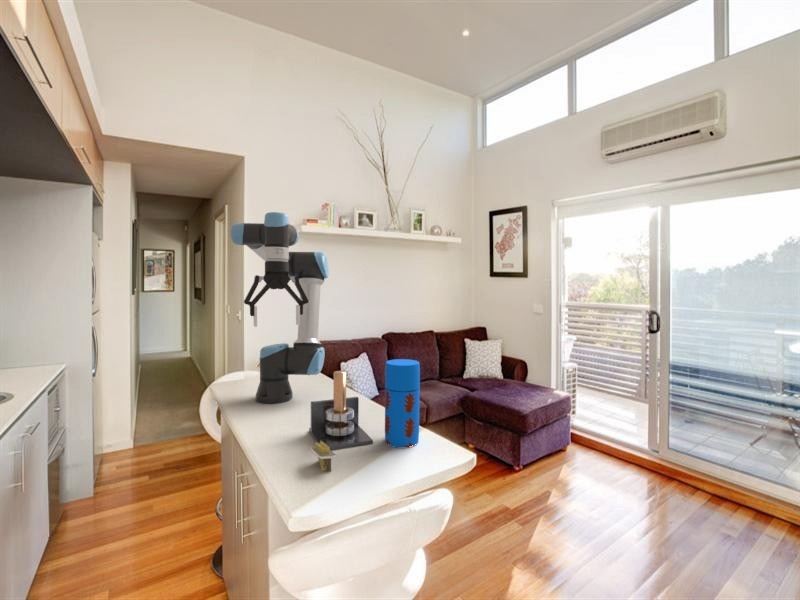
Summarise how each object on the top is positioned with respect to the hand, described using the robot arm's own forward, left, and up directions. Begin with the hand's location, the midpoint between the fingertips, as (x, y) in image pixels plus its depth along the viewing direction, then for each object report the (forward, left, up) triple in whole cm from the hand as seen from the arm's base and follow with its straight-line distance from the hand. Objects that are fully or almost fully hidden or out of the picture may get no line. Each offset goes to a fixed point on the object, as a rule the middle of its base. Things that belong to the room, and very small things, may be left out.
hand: (277, 325), depth 132 cm
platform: (+31, +8, -36) cm, 49 cm away
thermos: (+24, +35, -36) cm, 55 cm away
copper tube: (+13, +18, -34) cm, 41 cm away
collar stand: (+13, +18, -35) cm, 42 cm away
